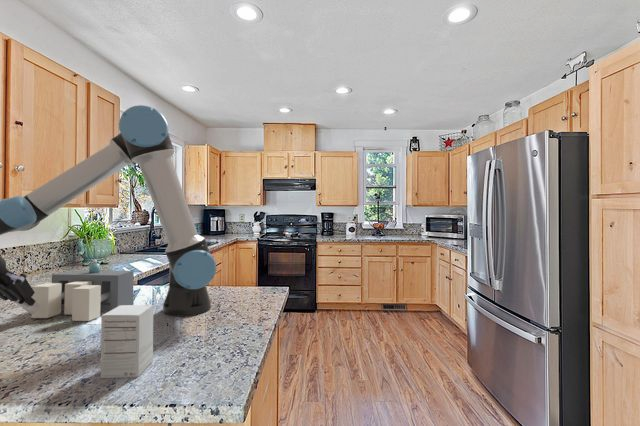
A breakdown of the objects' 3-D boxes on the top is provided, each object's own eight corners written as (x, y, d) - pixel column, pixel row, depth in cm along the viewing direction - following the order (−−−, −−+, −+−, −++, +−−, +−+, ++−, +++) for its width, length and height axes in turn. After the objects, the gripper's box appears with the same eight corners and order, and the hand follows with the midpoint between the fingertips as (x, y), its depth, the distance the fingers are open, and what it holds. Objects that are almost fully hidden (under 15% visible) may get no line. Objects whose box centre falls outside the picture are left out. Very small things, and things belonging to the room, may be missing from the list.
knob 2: (116, 308, 110) (117, 280, 110) (88, 320, 96) (89, 288, 96) (101, 308, 110) (102, 279, 110) (72, 320, 96) (72, 288, 96)
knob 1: (80, 305, 112) (80, 278, 112) (47, 318, 99) (48, 286, 99) (65, 305, 112) (66, 278, 112) (31, 317, 99) (32, 286, 99)
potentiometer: (101, 271, 114) (101, 259, 114) (95, 273, 111) (96, 260, 111) (93, 271, 114) (93, 259, 114) (87, 273, 111) (87, 260, 111)
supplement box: (118, 362, 71) (119, 304, 71) (153, 361, 72) (154, 304, 72) (98, 379, 64) (99, 314, 64) (138, 378, 64) (139, 314, 65)
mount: (133, 304, 117) (133, 270, 117) (107, 316, 102) (107, 278, 102) (71, 303, 117) (72, 269, 117) (37, 315, 102) (38, 277, 102)
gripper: (-61, 273, 78) (4, 321, 95) (-6, 274, 78) (49, 321, 95) (-37, 249, 84) (21, 298, 100) (15, 250, 84) (64, 298, 100)
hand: (35, 309), depth 97 cm, fingers closed
